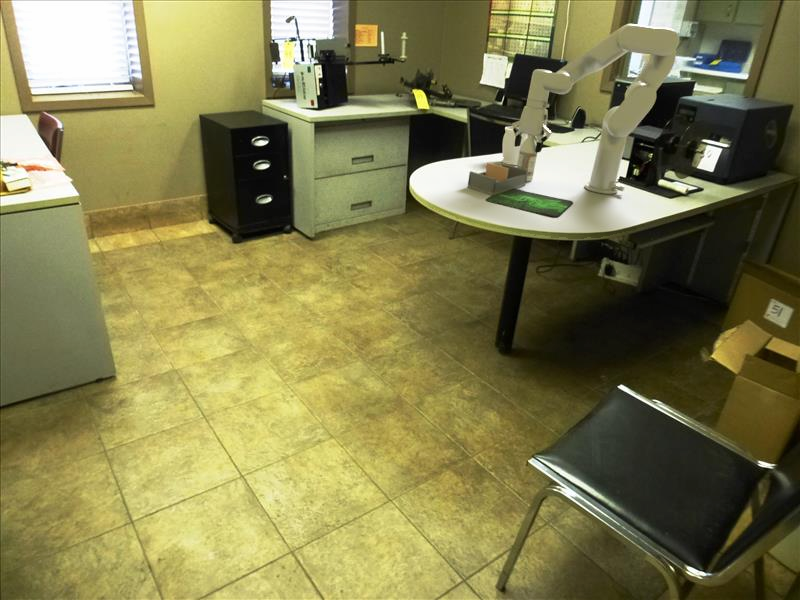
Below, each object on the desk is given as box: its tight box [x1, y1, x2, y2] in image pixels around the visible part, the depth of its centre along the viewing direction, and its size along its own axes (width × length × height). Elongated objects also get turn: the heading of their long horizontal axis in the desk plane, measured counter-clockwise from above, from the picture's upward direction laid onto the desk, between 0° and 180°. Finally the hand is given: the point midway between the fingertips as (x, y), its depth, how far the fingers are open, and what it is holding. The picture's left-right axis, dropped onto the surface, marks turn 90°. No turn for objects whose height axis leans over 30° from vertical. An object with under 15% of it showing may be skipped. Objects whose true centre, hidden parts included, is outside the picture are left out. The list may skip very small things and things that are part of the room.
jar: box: [501, 125, 528, 166], centre depth 250 cm, size 11×10×15 cm
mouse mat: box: [484, 188, 574, 218], centre depth 206 cm, size 27×22×1 cm
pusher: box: [485, 162, 509, 182], centre depth 215 cm, size 9×5×7 cm, turn 46°
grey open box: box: [467, 163, 528, 196], centre depth 219 cm, size 12×22×6 cm, turn 136°
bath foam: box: [516, 134, 538, 183], centre depth 227 cm, size 7×7×20 cm
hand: (527, 149), depth 226 cm, fingers open, 9 cm apart
